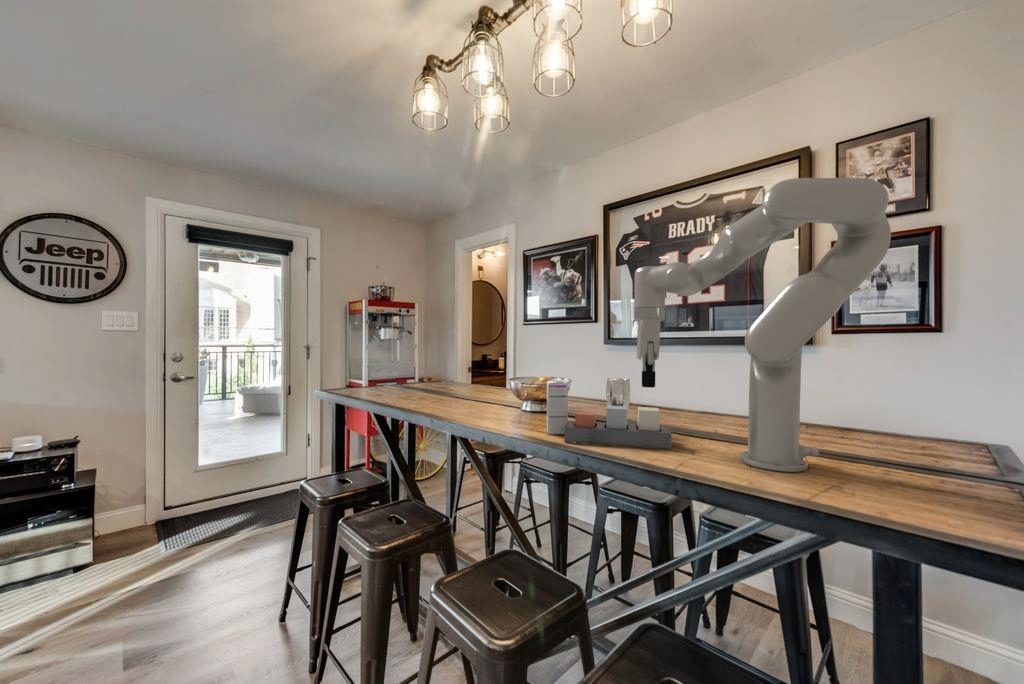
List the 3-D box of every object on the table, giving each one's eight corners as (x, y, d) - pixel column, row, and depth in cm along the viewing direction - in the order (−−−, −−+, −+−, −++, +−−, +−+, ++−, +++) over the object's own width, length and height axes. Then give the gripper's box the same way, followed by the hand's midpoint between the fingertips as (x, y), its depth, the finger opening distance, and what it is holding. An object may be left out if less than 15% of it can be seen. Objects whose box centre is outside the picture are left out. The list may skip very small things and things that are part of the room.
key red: (576, 429, 116) (576, 410, 116) (595, 430, 115) (595, 411, 115) (575, 433, 112) (575, 414, 111) (594, 434, 110) (594, 415, 110)
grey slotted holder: (567, 434, 119) (568, 420, 119) (666, 441, 113) (666, 426, 113) (564, 442, 110) (564, 427, 110) (671, 449, 104) (671, 433, 104)
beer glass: (632, 433, 122) (633, 380, 122) (608, 432, 122) (608, 380, 122) (626, 427, 129) (627, 378, 129) (603, 427, 129) (604, 378, 129)
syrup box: (568, 434, 119) (569, 382, 119) (547, 434, 119) (547, 382, 119) (566, 430, 125) (566, 380, 125) (545, 430, 125) (546, 380, 125)
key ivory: (637, 425, 113) (637, 406, 113) (657, 427, 112) (657, 407, 112) (638, 429, 108) (639, 410, 108) (659, 431, 107) (659, 411, 107)
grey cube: (606, 424, 115) (606, 405, 115) (625, 425, 113) (626, 406, 113) (606, 427, 110) (606, 408, 110) (626, 429, 109) (626, 409, 108)
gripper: (632, 317, 118) (631, 383, 118) (635, 313, 103) (634, 389, 103) (661, 316, 116) (660, 384, 116) (668, 313, 101) (667, 391, 102)
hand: (648, 386), depth 110 cm, fingers closed
